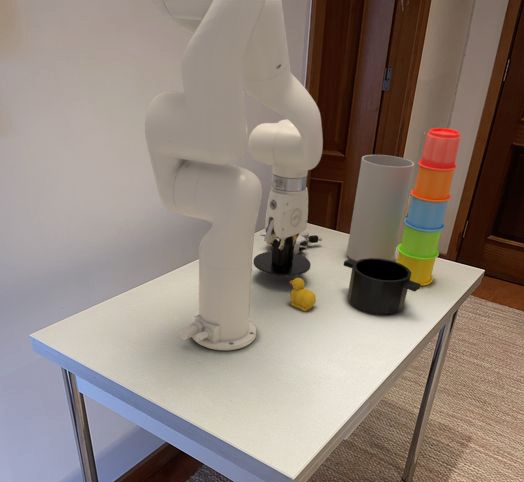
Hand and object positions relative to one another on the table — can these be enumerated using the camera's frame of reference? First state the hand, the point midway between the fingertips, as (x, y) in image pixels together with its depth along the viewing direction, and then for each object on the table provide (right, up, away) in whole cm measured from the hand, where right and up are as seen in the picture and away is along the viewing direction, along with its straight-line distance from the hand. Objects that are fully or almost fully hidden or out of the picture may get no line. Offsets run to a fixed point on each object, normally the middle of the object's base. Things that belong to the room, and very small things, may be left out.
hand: (282, 261), depth 123 cm
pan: (+21, -10, -5) cm, 24 cm away
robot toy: (+3, +7, +20) cm, 21 cm away
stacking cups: (+32, -3, +8) cm, 34 cm away
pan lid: (0, -1, 0) cm, 1 cm away
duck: (+4, -11, -9) cm, 15 cm away
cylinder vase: (+24, +4, +18) cm, 30 cm away
